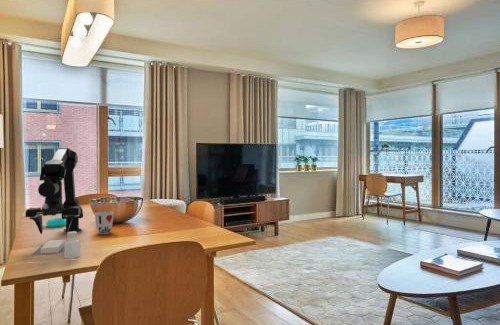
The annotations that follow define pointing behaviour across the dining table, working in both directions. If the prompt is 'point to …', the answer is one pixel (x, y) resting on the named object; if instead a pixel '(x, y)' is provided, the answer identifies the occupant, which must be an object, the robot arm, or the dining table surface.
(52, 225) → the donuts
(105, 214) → the cup
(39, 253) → the mat
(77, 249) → the pepper shaker
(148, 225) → the dining table surface
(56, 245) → the block
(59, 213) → the robot arm
